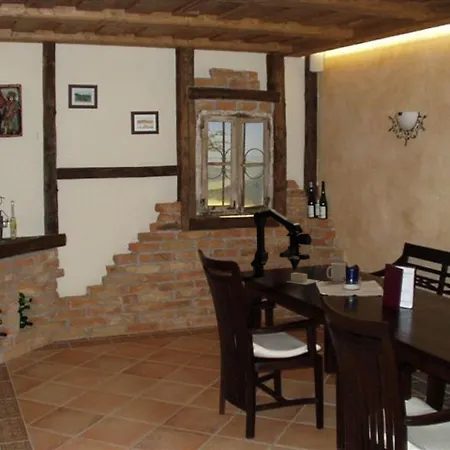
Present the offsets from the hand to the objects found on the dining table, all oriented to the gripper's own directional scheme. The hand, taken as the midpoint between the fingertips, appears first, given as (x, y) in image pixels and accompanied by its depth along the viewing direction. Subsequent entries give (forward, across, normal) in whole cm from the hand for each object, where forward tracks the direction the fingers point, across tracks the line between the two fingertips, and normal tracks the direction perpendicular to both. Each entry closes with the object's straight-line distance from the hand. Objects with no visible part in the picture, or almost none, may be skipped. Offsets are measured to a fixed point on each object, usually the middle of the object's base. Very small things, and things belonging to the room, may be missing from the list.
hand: (294, 270), depth 420 cm
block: (+4, -1, 0) cm, 4 cm away
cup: (+6, +20, +14) cm, 25 cm away
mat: (+6, +6, 0) cm, 9 cm away
